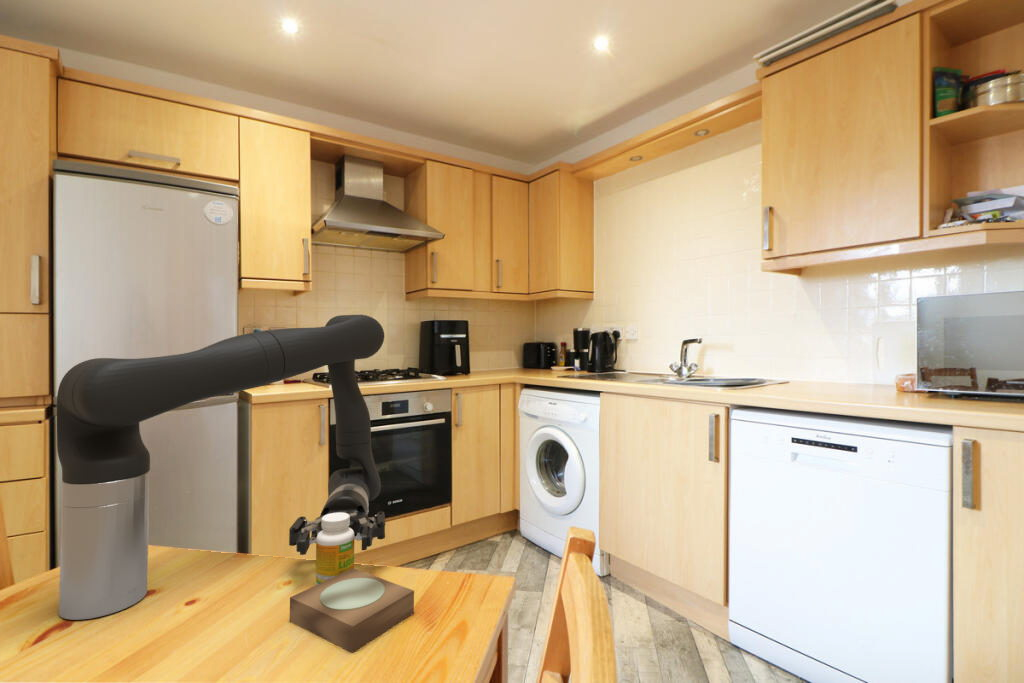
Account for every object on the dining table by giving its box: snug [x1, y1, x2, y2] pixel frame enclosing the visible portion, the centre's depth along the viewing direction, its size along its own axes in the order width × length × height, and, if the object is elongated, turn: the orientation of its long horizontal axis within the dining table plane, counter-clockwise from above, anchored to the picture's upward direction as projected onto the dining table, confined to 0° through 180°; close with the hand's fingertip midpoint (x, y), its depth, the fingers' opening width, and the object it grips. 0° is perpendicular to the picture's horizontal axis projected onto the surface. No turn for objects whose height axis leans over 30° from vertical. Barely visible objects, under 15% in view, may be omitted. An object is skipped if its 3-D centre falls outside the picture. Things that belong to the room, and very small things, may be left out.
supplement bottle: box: [315, 513, 355, 585], centre depth 73 cm, size 5×5×10 cm
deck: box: [289, 567, 415, 654], centre depth 63 cm, size 12×10×3 cm
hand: (333, 545), depth 71 cm, fingers open, 8 cm apart
